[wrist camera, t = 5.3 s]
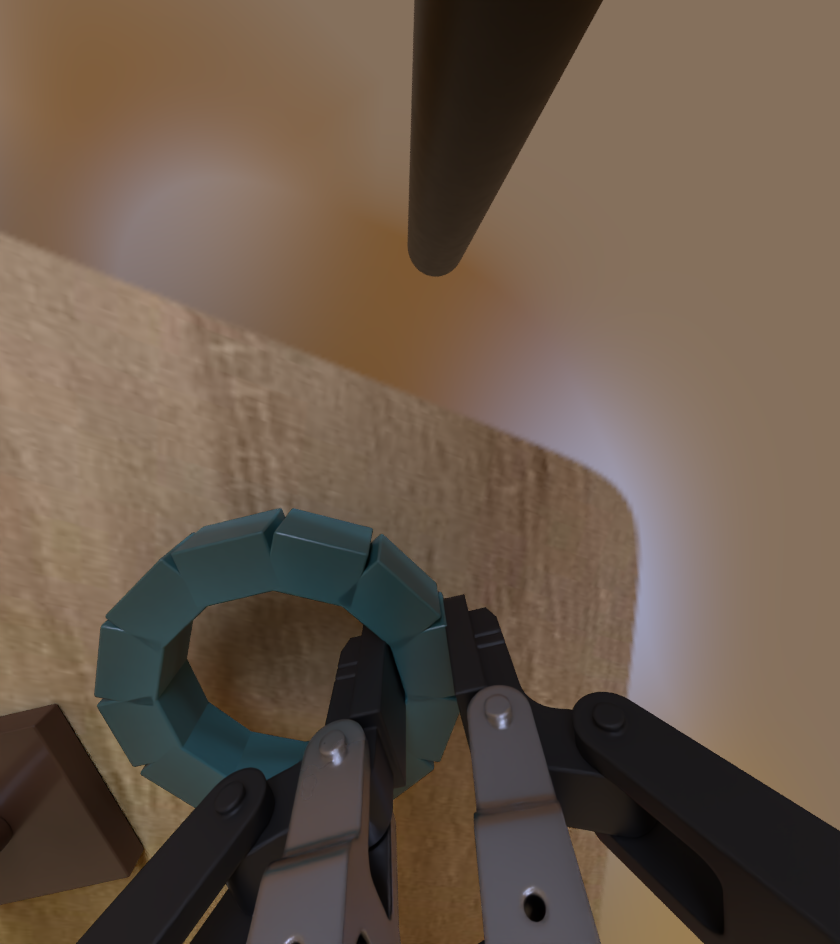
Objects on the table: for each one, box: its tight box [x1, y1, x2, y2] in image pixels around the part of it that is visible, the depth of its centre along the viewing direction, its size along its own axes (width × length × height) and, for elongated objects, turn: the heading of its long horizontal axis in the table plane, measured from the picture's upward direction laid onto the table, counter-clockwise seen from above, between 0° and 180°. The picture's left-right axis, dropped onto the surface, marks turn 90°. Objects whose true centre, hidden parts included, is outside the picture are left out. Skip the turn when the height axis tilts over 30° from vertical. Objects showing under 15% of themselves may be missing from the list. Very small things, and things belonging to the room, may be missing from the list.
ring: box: [94, 508, 460, 808], centre depth 11 cm, size 10×10×2 cm
